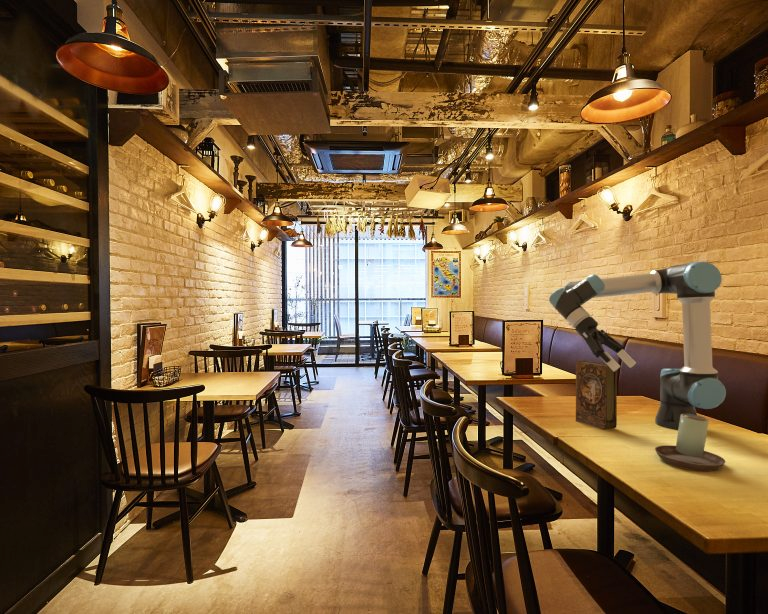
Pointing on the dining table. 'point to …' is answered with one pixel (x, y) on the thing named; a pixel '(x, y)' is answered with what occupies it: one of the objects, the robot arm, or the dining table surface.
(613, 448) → the dining table surface
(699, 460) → the plant saucer
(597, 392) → the book
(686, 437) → the pale green cup
